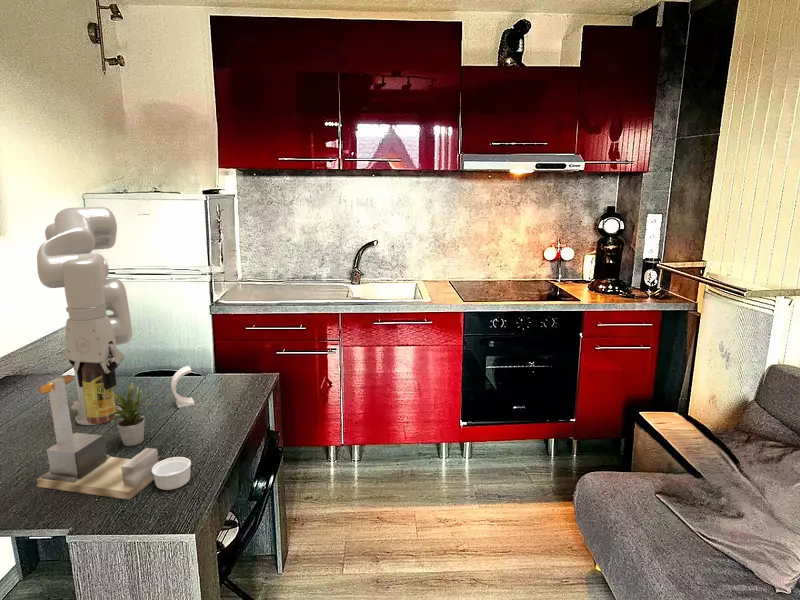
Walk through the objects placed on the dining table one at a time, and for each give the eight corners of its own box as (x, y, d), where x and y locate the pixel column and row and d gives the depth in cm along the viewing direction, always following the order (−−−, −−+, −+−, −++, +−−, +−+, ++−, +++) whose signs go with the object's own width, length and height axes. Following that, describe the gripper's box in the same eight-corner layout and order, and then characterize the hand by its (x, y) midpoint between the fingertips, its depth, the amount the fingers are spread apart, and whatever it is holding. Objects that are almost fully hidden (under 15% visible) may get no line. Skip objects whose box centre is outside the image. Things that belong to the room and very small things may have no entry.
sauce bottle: (104, 426, 127) (92, 345, 123) (80, 424, 129) (68, 343, 124) (123, 414, 134) (113, 336, 129) (100, 412, 135) (90, 335, 130)
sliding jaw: (50, 474, 133) (36, 387, 128) (79, 456, 141) (66, 373, 136) (79, 478, 131) (66, 389, 126) (107, 459, 140) (95, 376, 134)
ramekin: (153, 495, 128) (151, 478, 127) (153, 476, 136) (151, 460, 135) (193, 486, 132) (191, 470, 131) (191, 468, 140) (189, 453, 139)
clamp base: (37, 486, 132) (33, 460, 130) (79, 459, 144) (75, 435, 143) (130, 499, 127) (126, 472, 125) (165, 470, 139) (162, 445, 137)
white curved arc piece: (194, 404, 178) (191, 369, 175) (174, 408, 175) (171, 373, 173) (192, 399, 182) (188, 365, 179) (172, 403, 179) (169, 368, 176)
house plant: (106, 433, 159) (99, 380, 155) (158, 425, 164) (152, 373, 160) (100, 456, 146) (92, 399, 142) (157, 446, 151) (150, 391, 147)
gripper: (42, 314, 123) (54, 389, 128) (108, 318, 120) (118, 395, 124) (68, 306, 131) (79, 377, 135) (131, 310, 127) (140, 383, 131)
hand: (97, 385), depth 129 cm, fingers closed on sauce bottle, 6 cm apart
